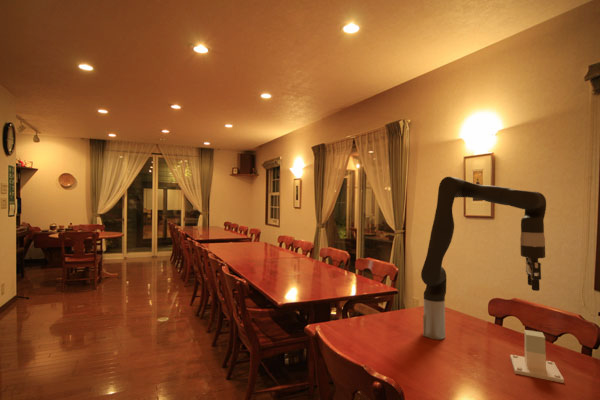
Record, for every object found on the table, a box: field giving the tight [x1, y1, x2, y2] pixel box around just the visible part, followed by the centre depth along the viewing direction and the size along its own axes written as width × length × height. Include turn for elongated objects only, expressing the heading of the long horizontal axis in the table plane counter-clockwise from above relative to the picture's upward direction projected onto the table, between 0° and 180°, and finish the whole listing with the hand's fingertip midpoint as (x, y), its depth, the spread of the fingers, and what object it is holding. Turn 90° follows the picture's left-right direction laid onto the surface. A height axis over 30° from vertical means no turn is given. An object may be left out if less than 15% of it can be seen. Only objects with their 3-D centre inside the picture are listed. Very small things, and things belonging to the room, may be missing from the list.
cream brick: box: [524, 344, 547, 371], centre depth 119 cm, size 6×6×6 cm
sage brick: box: [523, 329, 547, 356], centre depth 119 cm, size 6×6×6 cm
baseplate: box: [509, 354, 565, 384], centre depth 119 cm, size 14×14×2 cm
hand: (533, 287), depth 120 cm, fingers open, 8 cm apart
